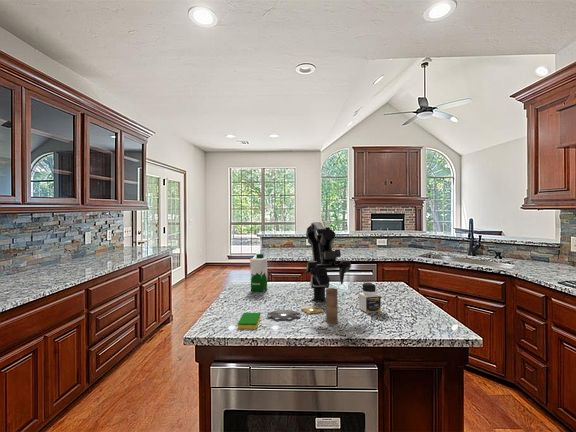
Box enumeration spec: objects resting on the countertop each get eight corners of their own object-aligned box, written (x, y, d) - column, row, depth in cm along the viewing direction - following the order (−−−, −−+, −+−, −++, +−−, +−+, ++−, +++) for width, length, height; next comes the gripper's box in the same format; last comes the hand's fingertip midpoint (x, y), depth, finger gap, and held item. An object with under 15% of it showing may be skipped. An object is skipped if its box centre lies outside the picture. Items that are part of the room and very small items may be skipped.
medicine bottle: (366, 313, 144) (366, 285, 144) (358, 308, 151) (358, 282, 151) (381, 311, 146) (380, 284, 146) (372, 307, 153) (372, 281, 153)
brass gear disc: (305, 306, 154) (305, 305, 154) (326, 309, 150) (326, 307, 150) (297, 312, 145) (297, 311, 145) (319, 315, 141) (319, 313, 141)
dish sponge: (260, 318, 140) (260, 312, 140) (256, 329, 126) (256, 323, 126) (243, 318, 140) (243, 312, 140) (237, 329, 126) (237, 323, 126)
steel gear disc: (275, 309, 151) (275, 307, 151) (305, 312, 145) (305, 311, 145) (260, 318, 137) (260, 316, 137) (292, 323, 132) (292, 321, 132)
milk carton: (269, 288, 191) (268, 253, 191) (263, 292, 182) (262, 256, 182) (254, 288, 193) (254, 253, 193) (248, 291, 185) (248, 255, 185)
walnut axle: (328, 319, 136) (327, 287, 136) (338, 320, 134) (338, 288, 134) (324, 323, 132) (324, 290, 131) (335, 324, 130) (335, 291, 130)
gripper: (307, 243, 142) (311, 276, 132) (350, 242, 144) (357, 275, 134) (304, 256, 151) (308, 288, 141) (345, 255, 153) (351, 286, 143)
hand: (331, 284), depth 140 cm, fingers open, 9 cm apart
